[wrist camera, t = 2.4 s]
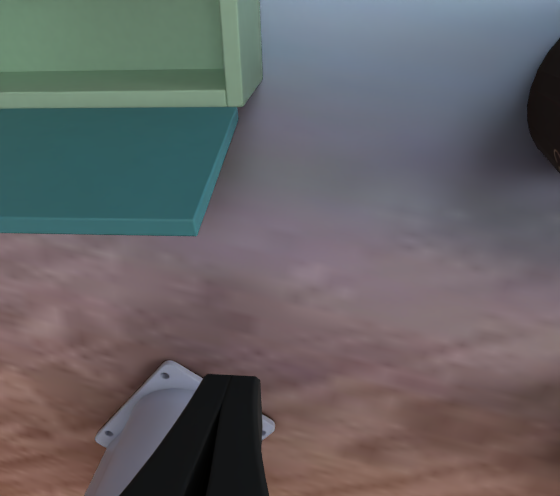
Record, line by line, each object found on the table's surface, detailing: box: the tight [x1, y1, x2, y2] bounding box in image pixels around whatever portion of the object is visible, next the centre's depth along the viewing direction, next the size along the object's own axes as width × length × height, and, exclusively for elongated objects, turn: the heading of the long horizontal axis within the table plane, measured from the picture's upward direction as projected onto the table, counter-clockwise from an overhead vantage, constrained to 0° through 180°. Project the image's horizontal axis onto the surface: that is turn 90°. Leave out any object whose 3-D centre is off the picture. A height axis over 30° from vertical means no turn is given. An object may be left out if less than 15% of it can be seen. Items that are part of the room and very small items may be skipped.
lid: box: [0, 107, 239, 236], centre depth 11 cm, size 5×11×1 cm
